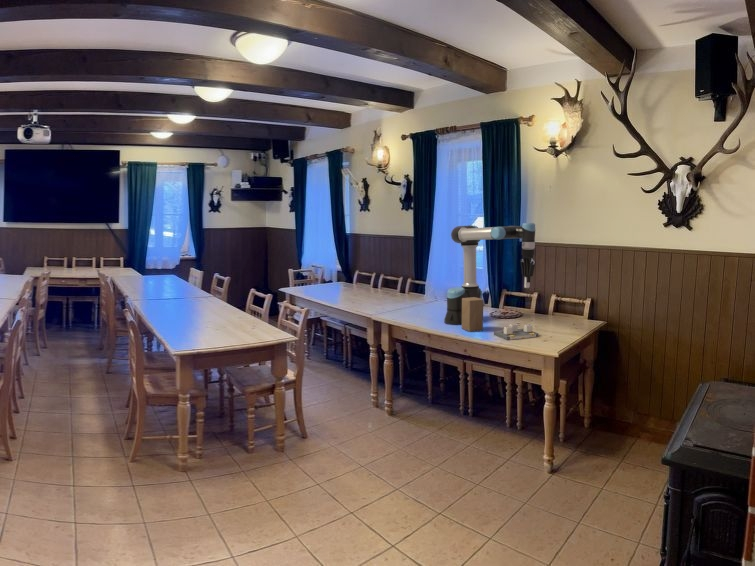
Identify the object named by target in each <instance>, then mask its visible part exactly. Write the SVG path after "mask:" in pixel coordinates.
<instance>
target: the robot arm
mask: <svg viewBox="0 0 755 566" xmlns="http://www.w3.org/2000/svg"><path fill="white" fill-rule="evenodd" d="M536 230H537V229H536V224H535V223H533V222H523V223H522V225H507V226H492V227H491V226H489V227H478V226H477V225H471V224H470V225H457V226H456V227H454V228H453V229H452V230H451V232H450V236H451V240H452V241H453V242H454V243H456V244H460V247H462V251H463V253H462V254H463V283H462V284H461V286H456V287H450V288H448V289H447V292H446V313H445V316H444V319H443V321H444V322H443V323H444V324H447V325H453V326H454V325H455V326H460V325H461V326H462V298H470V297H477V298H480V299H483V291H482V289H481V288H480V285H479V284H478V282H477V247H478V246H479V242H480V241H482V240H483V241H487V240H507V239H508V240H510V239H511V240H512V239H521V256H522V258H520V259H519V262H520V267H521V268H520V270H521V276H523V277H524V278H523V279H524V280H523V281H524V285H523V287H524V288H525V289H529V288H530V286H531V284H530V282H531V278H532V277H533V276H534V270H535V266H536V263H537V261H536V260H534V256H535V255H536V254H535V251H536V250H535V248H536V240H535V239H536Z"/></svg>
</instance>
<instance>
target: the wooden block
mask: <svg viewBox="0 0 755 566" xmlns="http://www.w3.org/2000/svg"><path fill="white" fill-rule="evenodd" d="M461 329H462V330H465V332H469V333H472V332H481V331H483V330H484V299H483V298H482V299H480V298H477V297H470V298H462V325H461Z"/></svg>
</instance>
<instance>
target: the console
mask: <svg viewBox="0 0 755 566" xmlns="http://www.w3.org/2000/svg"><path fill="white" fill-rule="evenodd" d="M493 336H495V337H497V338H501V339H503V340H505V341H513V340H519V339H520V340H521V339H530V338H538V337H539V333H538V332H535V331H533V330H532V332H524V328H518V331H514V332H512V334H507V335H506V334H504V330H498V331H493Z"/></svg>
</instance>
